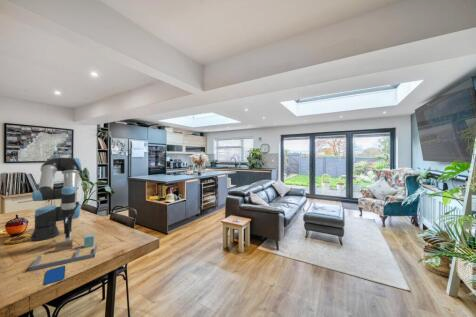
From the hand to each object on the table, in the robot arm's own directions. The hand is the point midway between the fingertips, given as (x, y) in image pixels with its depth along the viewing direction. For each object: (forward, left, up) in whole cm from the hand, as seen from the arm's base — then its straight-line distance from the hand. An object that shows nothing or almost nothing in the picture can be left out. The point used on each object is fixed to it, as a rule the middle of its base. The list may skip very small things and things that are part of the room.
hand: (67, 241), depth 132 cm
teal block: (+11, +13, -2) cm, 18 cm away
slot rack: (+25, +4, -2) cm, 26 cm away
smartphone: (+44, +3, -2) cm, 45 cm away
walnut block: (+9, 0, -2) cm, 10 cm away
